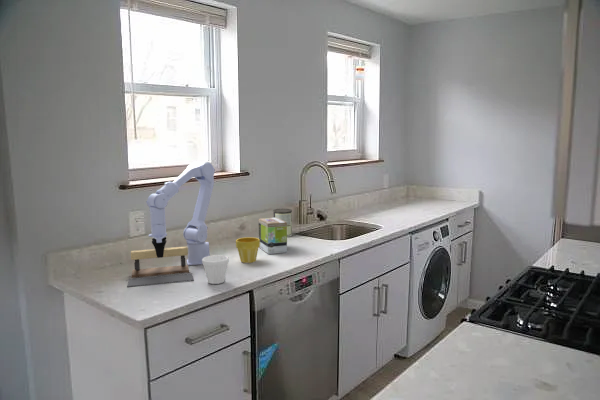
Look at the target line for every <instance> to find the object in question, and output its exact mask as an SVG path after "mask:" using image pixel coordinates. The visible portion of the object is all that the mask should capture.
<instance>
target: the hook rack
mask: <svg viewBox="0 0 600 400" xmlns="http://www.w3.org/2000/svg"><path fill="white" fill-rule="evenodd" d="M185 256H186V255H184V256H180V265H170V266H169V265H168V266H161V267H160V266H159V267H148V268H147V267H146V268H141V266H140V259H137V260H134V269H132V272H131V279H134V278H144V277H155V276H166V275H177V274H187V273H190V268H189V265H187V261H186V258H185Z"/></svg>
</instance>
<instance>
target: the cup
mask: <svg viewBox="0 0 600 400" xmlns="http://www.w3.org/2000/svg"><path fill="white" fill-rule="evenodd" d="M229 259H230V258H229V257H228V256H227V255H223V254H215V255H214V254H213V255H210V256H207V257H204V258H203V259H202V263H203V264H202V265H203V268H204V272H205V276H206V279H207V283H208V284H209V285H215V284H216V285H221V284H223V283H224V282H225V280H226V276H227V270H228V266H229Z"/></svg>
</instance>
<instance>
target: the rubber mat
mask: <svg viewBox="0 0 600 400" xmlns="http://www.w3.org/2000/svg"><path fill="white" fill-rule="evenodd" d="M183 282H184V283H185V282H194V274H193V273H192V272H189V273H178V274H168V275H157V276H146V277H135V278H128V279H127V285H126V287H127V288H132V287H143V286H153V285H154V286H155V285H163V284H164V285H165V284H173V283H183Z"/></svg>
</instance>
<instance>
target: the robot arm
mask: <svg viewBox="0 0 600 400" xmlns="http://www.w3.org/2000/svg"><path fill="white" fill-rule="evenodd" d="M215 170H216V169H215V167H214V165H213V164H212V163H211V162H210V161H209V162H208V161H206V162H203V161H202V162H201V161H192V162H191V163H190V164H189V165H187V166H186V169H184V170H183V171H182V173H180V174H179V175H178V176H177V177H176V178H175V179H174V180H173V181H165V182H164V184H163V185H162V187H160V188H159V189H157V190H156V191H155V193H151V194H150V195H149V196H148V197H147V200H146V201H145V202H146V205H147V206H148V207H149V214H150V215H149V217H150V230H151V233H149V234H148V235H147V236H148V238H151V244H152V245H153V247H154V249H155V250H156V255H157V258H156V259H159V258H160V259H161V258H162V259H163V258H164V257H163V254H164V248H166V247H165V246H166V243H167V241H168V240H167V236H168V234H167V225H166V224H167V223H166V207H167V206H168V203H169V201H170V200H171V199H172V198H173V197H175V196H176V194H177V195H178V193H179V192H180V191H179V189H180V187H182V186H183V185H184V184H186V183H187V182H189V180H191V179H193V178H195V180H197V181H198V183H199V191H198V194H197V196H196V197H197V198H196V203H195V206H194V210H193V215H192V217H191V218H192V219H190V221H188V222H187V224H186V226H185V228H184V229H183V233H182V236H183V239H184V240H186V244H187V245H186V246H187V247H188V255H187V259H186V265H188V266H197V265H203V263H202V259H203V258H204V257H207V256H211V254H210V244H209V243H210V242H209V241H207V239H208V225H207V224H206V218H207V214H208V209H209V205H210V202H211V197H212V194H213V189H214V186H215V180H214V179H215V177H214V176H215Z"/></svg>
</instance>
